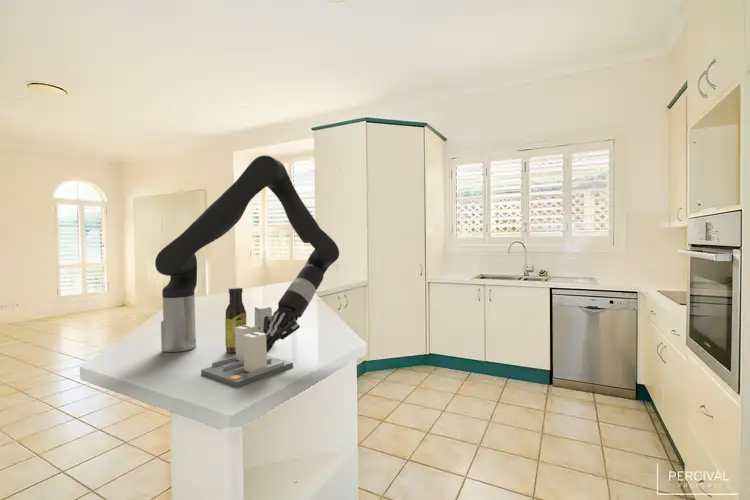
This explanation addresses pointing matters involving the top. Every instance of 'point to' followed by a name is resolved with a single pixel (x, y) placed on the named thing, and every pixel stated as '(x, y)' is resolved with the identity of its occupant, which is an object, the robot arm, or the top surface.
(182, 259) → the robot arm
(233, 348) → the sauce bottle
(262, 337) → the tab
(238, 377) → the switch board
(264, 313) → the skincare box
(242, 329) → the tab
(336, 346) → the top surface
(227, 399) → the top surface
